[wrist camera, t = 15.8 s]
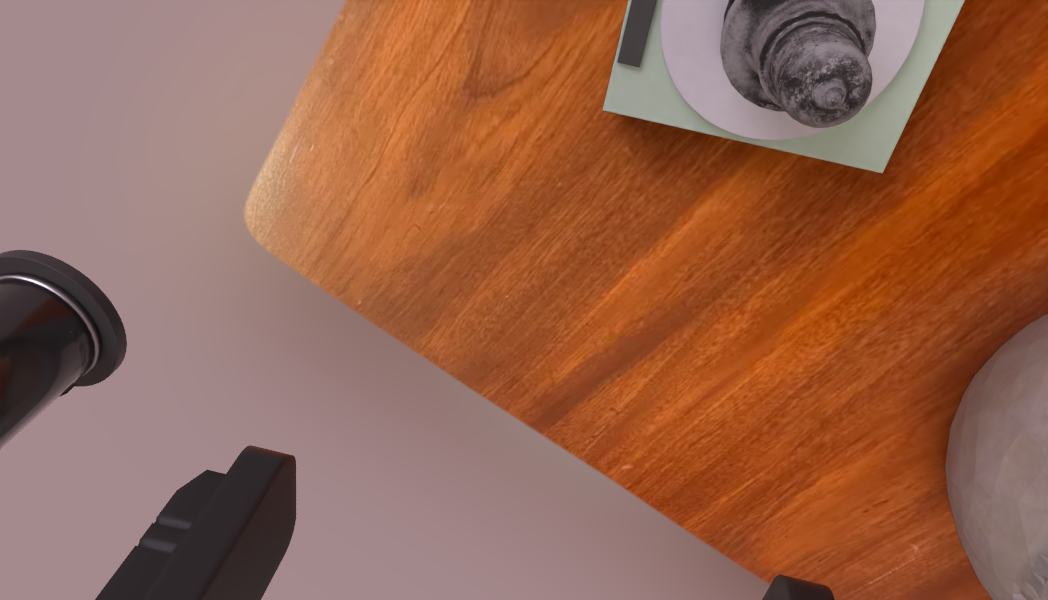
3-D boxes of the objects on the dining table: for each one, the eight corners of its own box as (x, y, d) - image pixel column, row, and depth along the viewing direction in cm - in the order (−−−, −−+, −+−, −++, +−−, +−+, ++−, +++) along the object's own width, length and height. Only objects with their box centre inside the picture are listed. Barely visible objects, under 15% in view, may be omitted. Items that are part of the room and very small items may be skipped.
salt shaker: (810, 107, 34) (868, 218, 24) (693, 60, 34) (701, 152, 24) (885, -22, 31) (989, 44, 21) (756, -75, 30) (796, -35, 20)
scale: (606, 94, 39) (601, 115, 36) (669, -172, 32) (668, -173, 29) (869, 153, 38) (886, 180, 35) (988, -107, 31) (1022, -101, 28)
